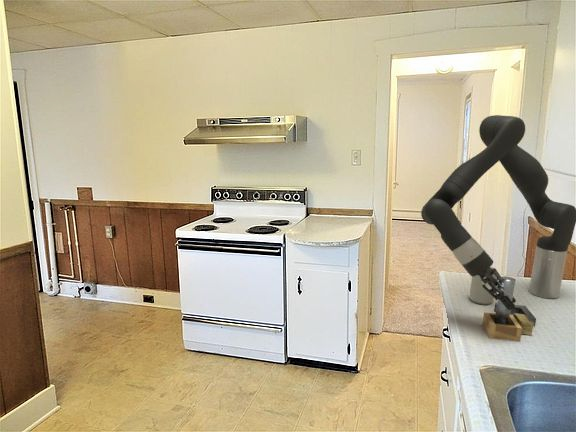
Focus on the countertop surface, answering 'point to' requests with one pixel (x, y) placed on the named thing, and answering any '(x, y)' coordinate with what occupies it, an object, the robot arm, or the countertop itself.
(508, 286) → the grey capsule rod
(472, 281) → the can
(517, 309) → the socket block
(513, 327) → the brown square frame
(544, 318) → the countertop surface
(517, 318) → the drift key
